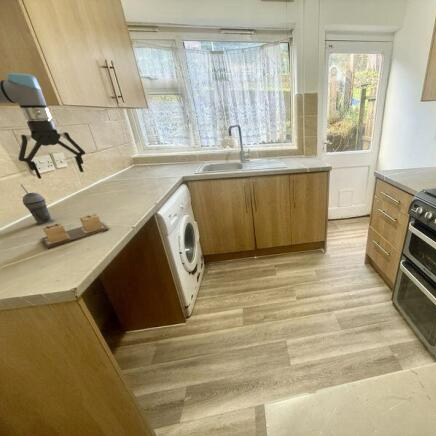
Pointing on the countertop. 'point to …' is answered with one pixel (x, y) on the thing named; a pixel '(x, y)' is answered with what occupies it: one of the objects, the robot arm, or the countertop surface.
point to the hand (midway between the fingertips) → (61, 174)
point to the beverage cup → (36, 207)
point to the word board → (73, 236)
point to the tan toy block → (55, 232)
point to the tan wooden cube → (91, 222)
